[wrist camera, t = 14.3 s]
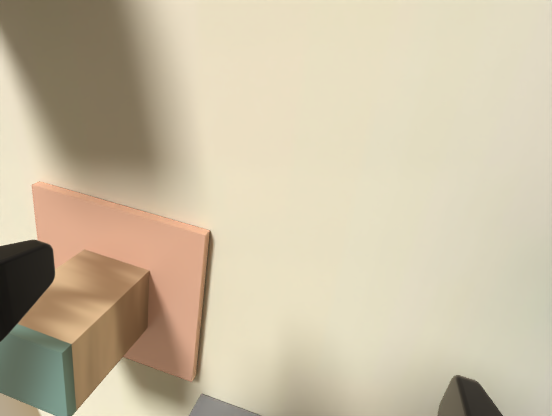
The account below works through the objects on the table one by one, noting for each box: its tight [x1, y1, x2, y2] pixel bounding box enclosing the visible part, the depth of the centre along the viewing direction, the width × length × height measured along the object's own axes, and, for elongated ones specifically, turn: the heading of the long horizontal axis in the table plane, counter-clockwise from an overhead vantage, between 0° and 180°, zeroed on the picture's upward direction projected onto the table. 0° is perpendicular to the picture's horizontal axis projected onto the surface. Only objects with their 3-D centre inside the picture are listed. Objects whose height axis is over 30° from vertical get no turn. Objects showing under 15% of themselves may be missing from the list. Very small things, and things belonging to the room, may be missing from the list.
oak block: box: [0, 249, 149, 416], centre depth 23 cm, size 4×4×7 cm
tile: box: [32, 181, 210, 382], centre depth 26 cm, size 11×11×1 cm
